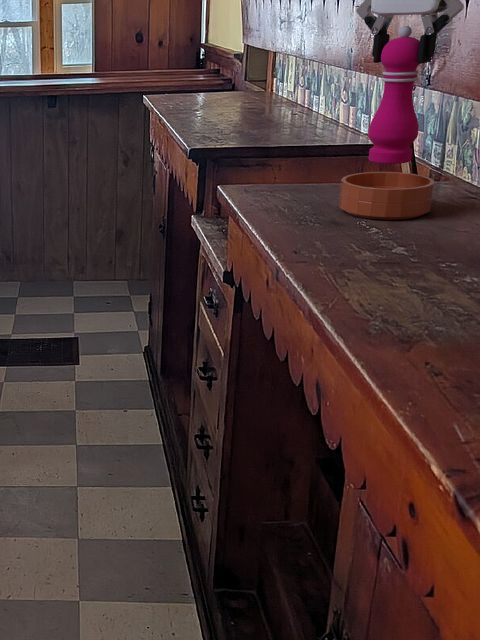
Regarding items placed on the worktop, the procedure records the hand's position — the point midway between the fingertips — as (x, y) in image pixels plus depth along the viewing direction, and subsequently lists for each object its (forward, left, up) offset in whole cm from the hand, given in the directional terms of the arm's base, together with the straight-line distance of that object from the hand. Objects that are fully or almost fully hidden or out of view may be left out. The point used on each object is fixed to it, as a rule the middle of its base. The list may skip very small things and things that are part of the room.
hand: (401, 61), depth 131 cm
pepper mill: (0, 0, -15) cm, 15 cm away
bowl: (0, 0, -23) cm, 23 cm away
